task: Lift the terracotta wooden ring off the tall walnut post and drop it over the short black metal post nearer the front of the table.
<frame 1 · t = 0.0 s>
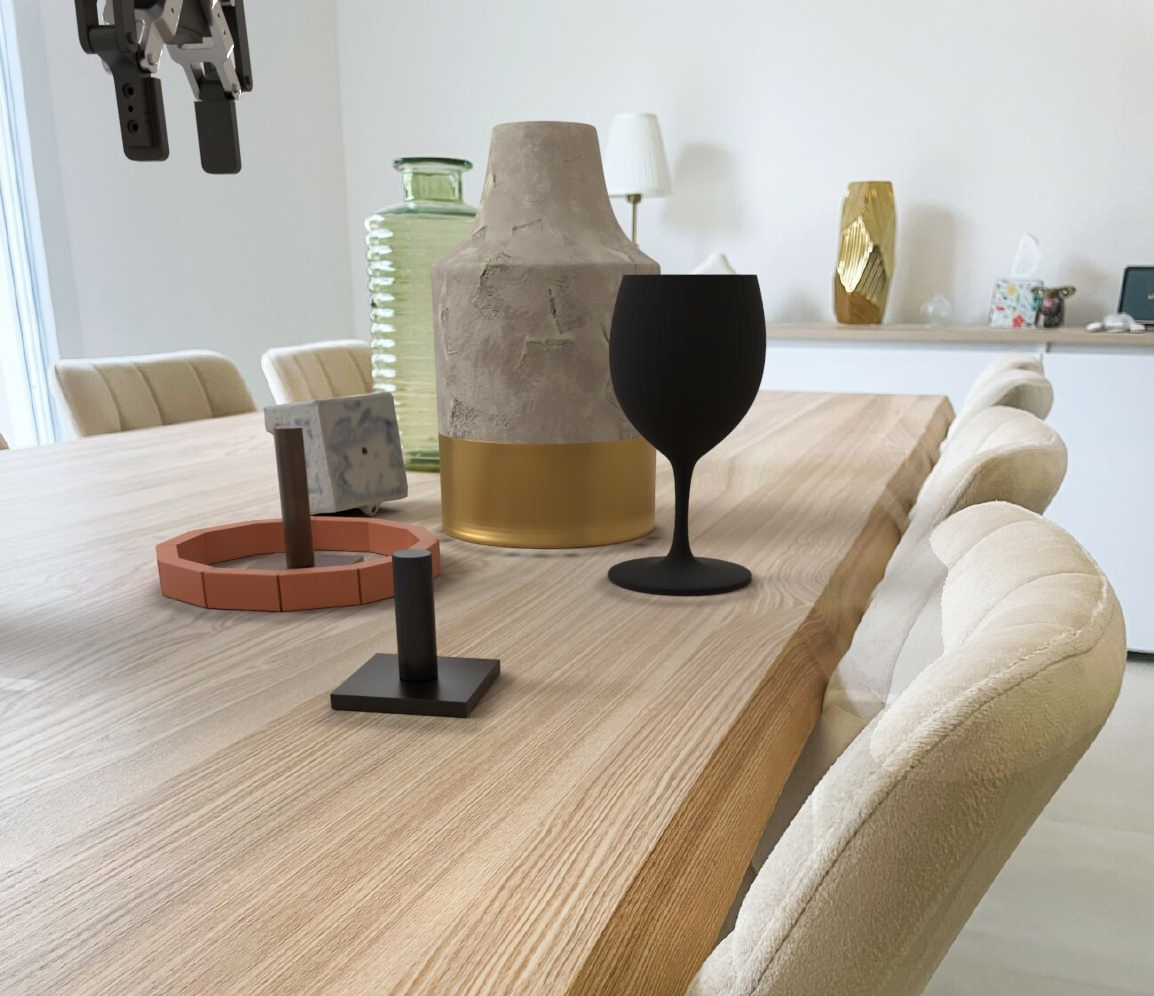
hand: (187, 168, 64), 25 cm above the table, tool pointing down, fingers open, 8 cm apart
walnut post: (302, 575, 83), on the table
wine glass: (679, 580, 83), on the table
ring: (302, 575, 83), on the table
metal post: (419, 690, 60), on the table
vase: (548, 527, 100), on the table
incense holder: (342, 514, 106), on the table
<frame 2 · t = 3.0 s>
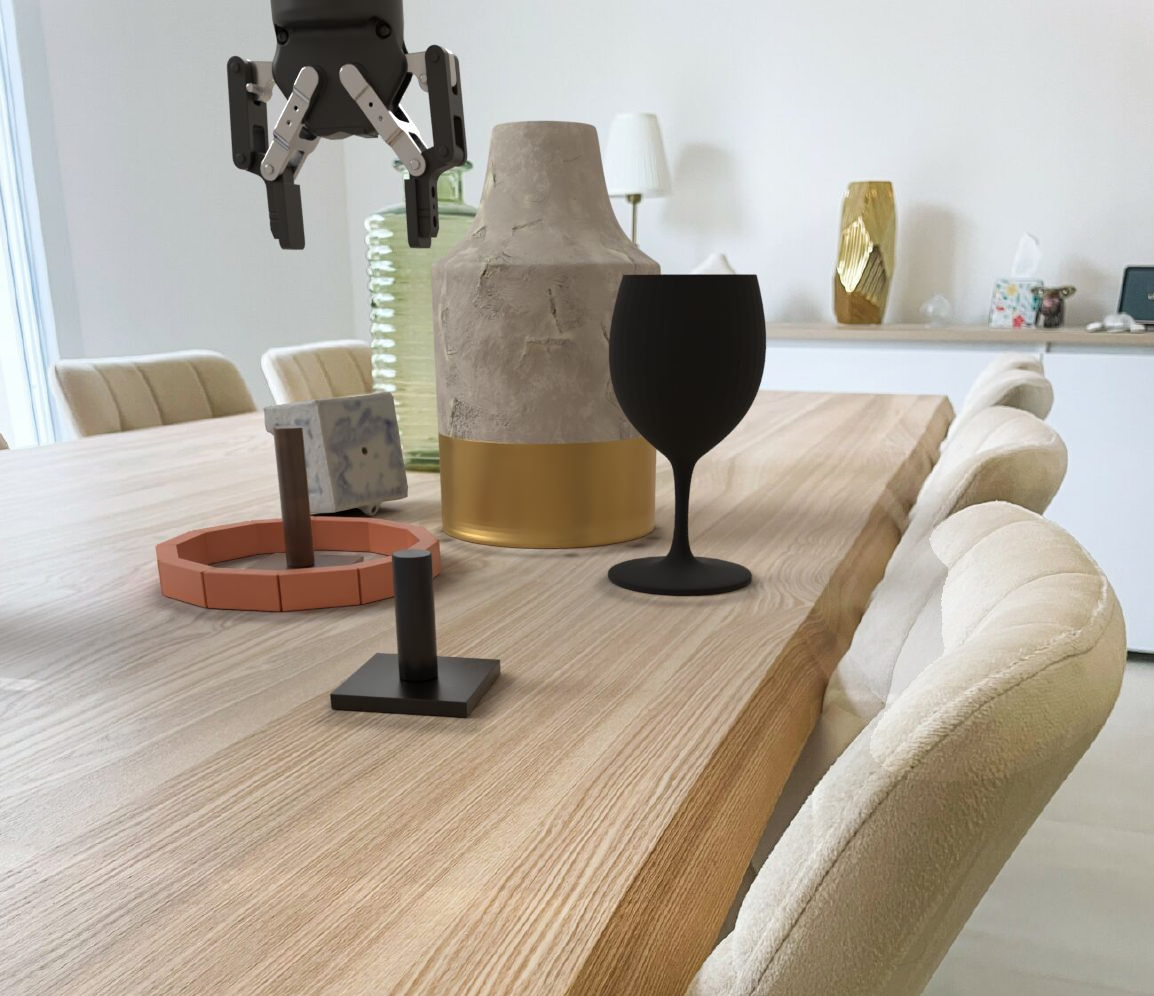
hand: (356, 249, 71), 21 cm above the table, tool pointing down, fingers open, 8 cm apart
nothing on the table moved.
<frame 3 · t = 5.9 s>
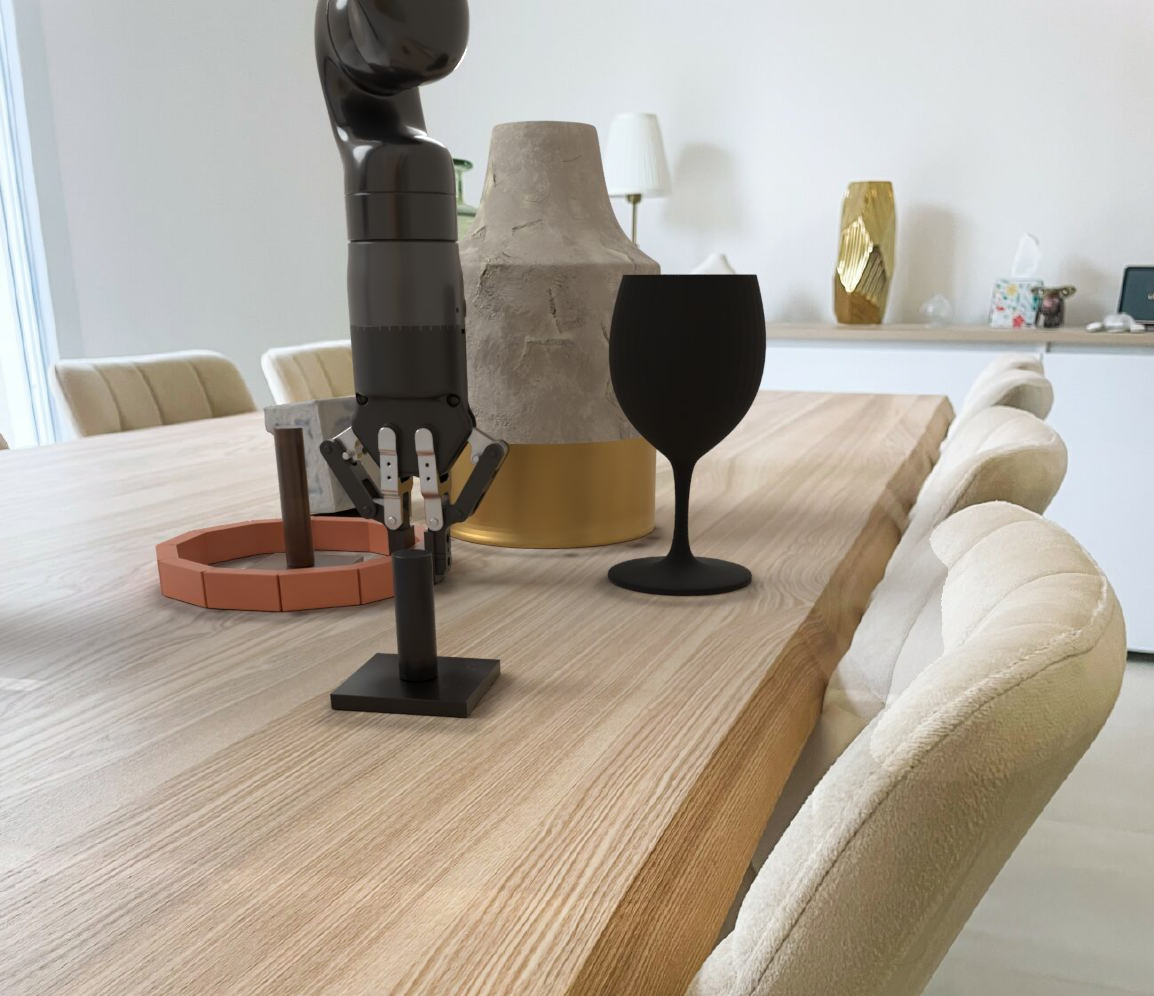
hand: (422, 579, 82), 0 cm above the table, tool pointing down, fingers closed on ring, 1 cm apart
ring: (302, 575, 83), on the table, touching gripper
everything else where it was.
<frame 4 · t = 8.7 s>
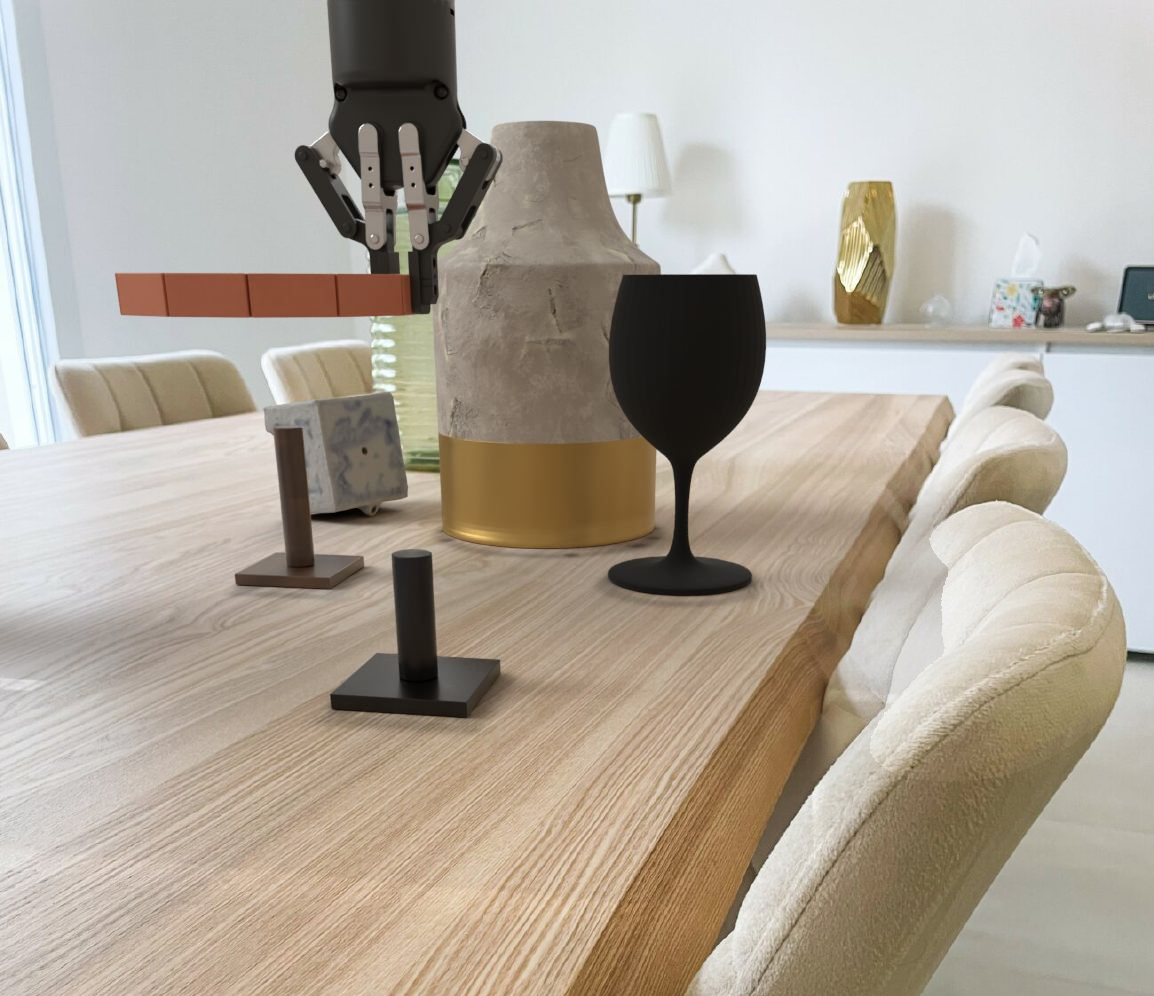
hand: (406, 313, 75), 18 cm above the table, tool pointing down, fingers closed on ring, 1 cm apart
ring: (276, 313, 76), point 18 cm above the table, touching gripper
everything else where it was.
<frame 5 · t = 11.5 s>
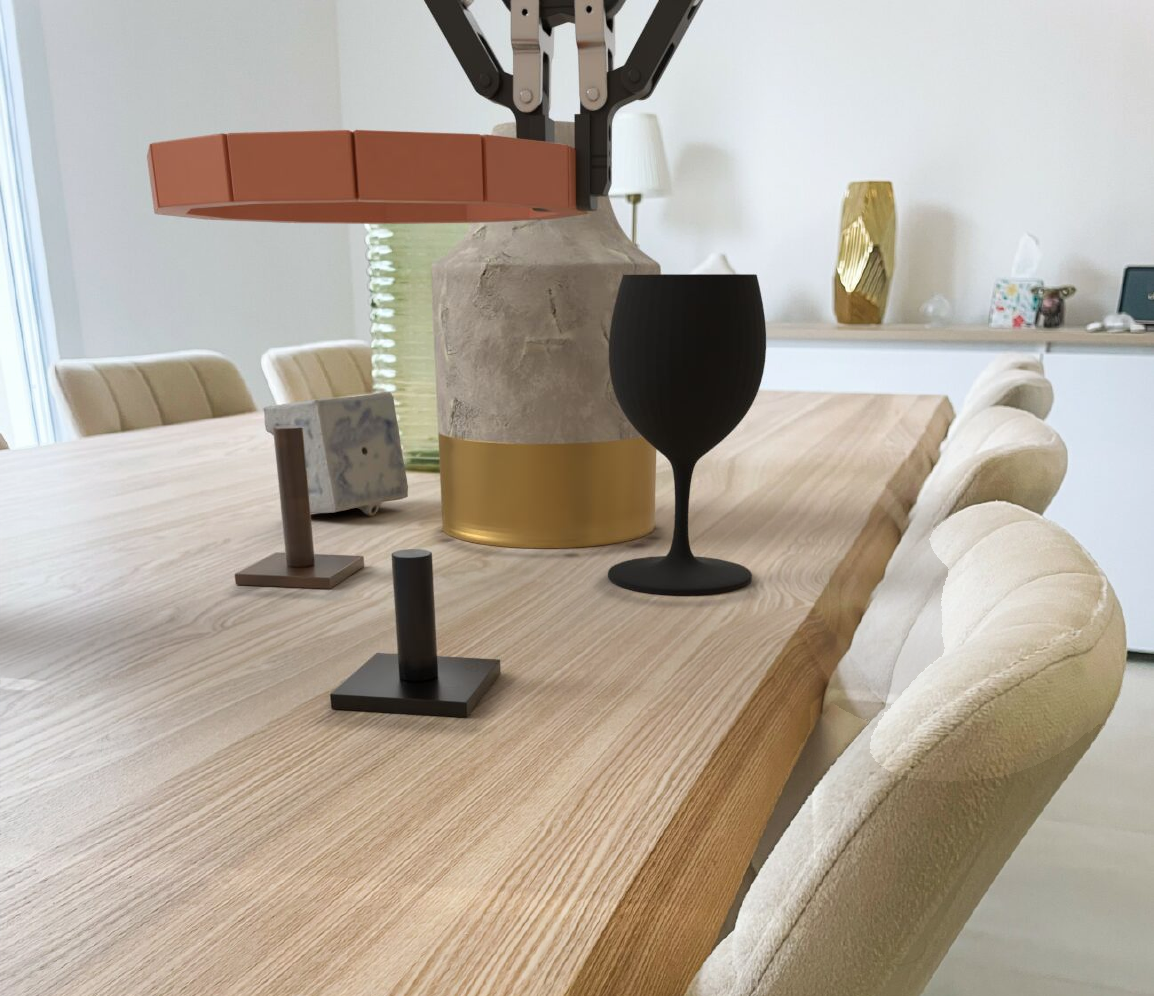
hand: (565, 209, 52), 23 cm above the table, tool pointing down, fingers closed on ring, 1 cm apart
ring: (375, 214, 54), point 23 cm above the table, touching gripper
everything else where it was.
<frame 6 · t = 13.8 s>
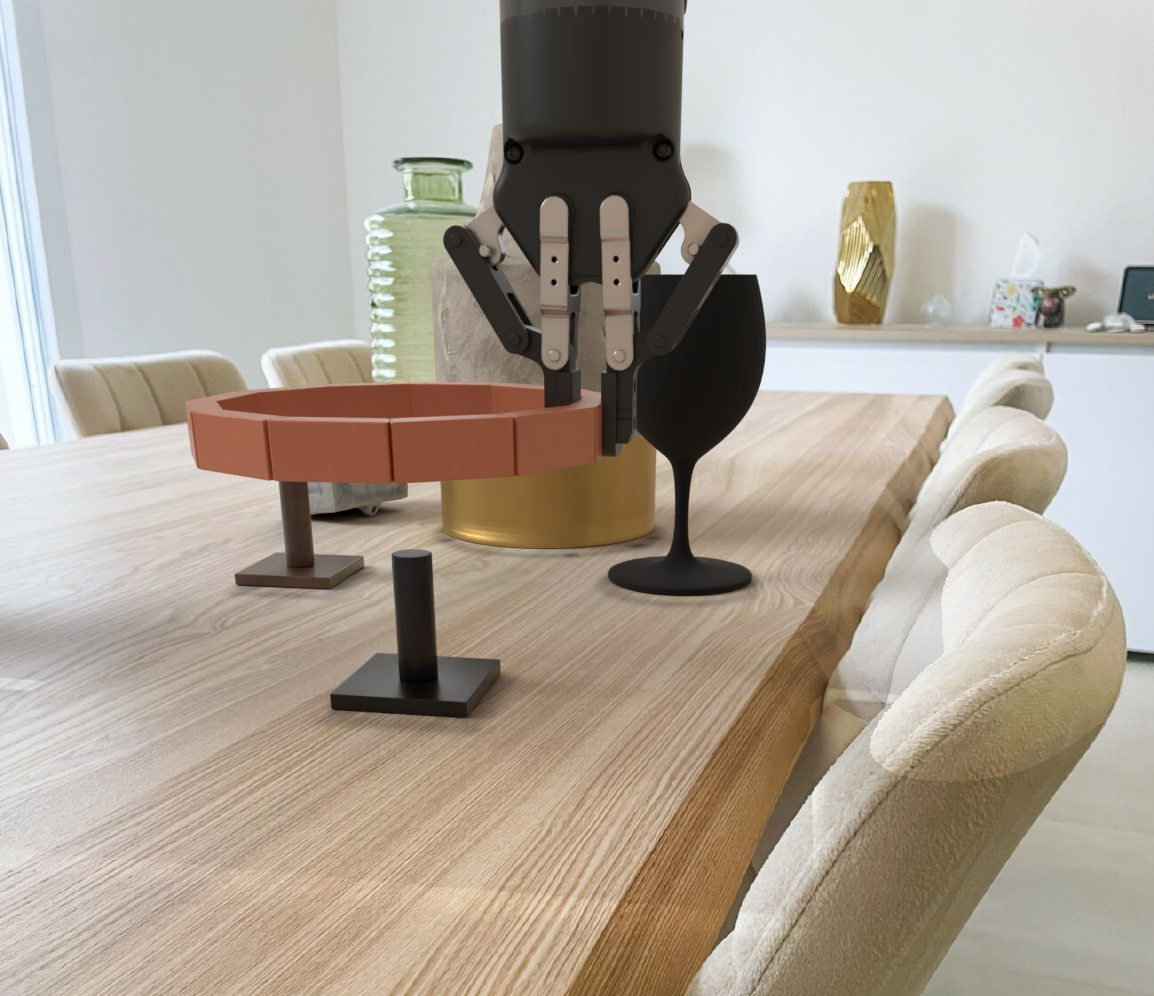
hand: (591, 453, 54), 12 cm above the table, tool pointing down, fingers closed on ring, 1 cm apart
ring: (405, 450, 55), point 12 cm above the table, touching gripper
everything else where it was.
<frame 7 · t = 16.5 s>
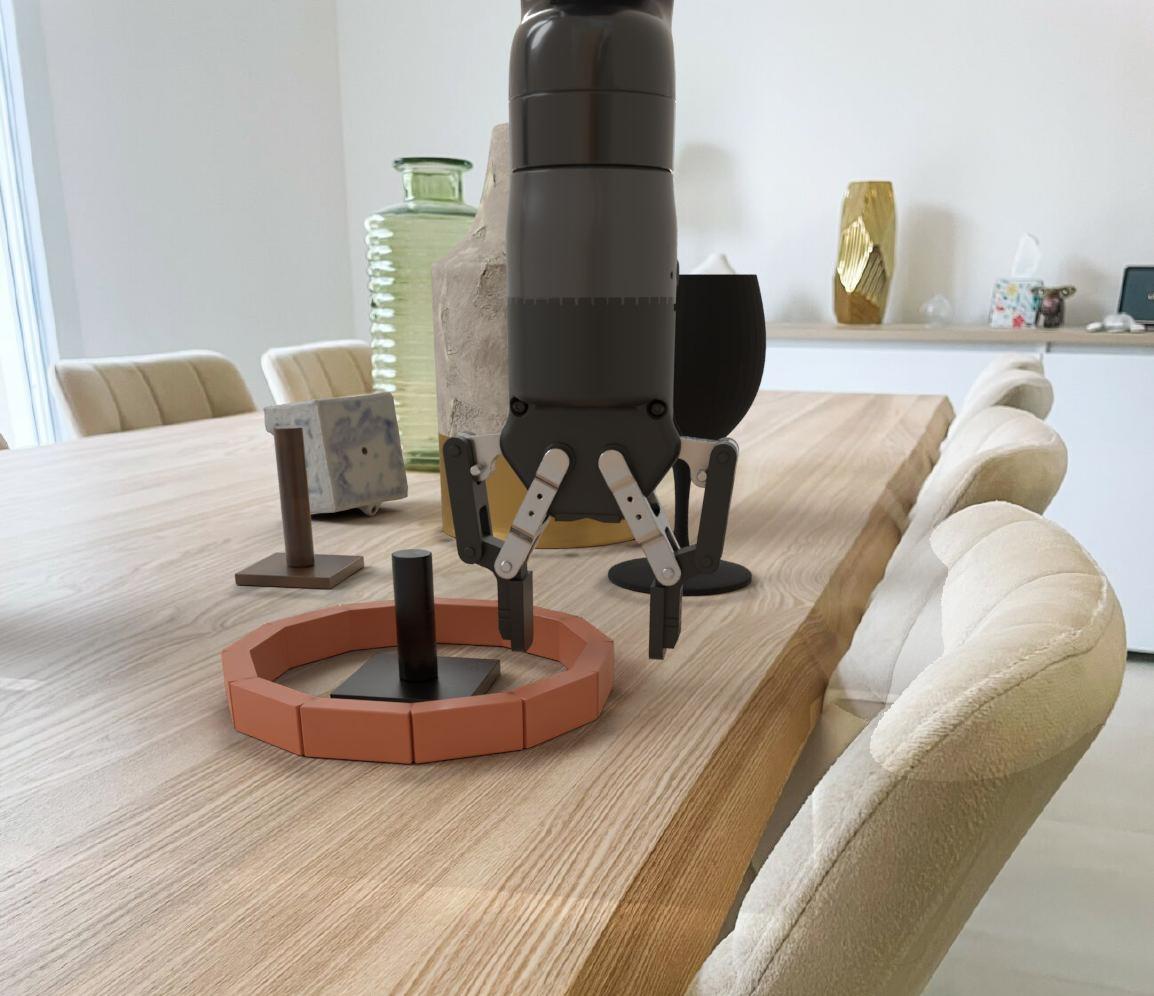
hand: (590, 650, 57), 3 cm above the table, tool pointing down, fingers open, 6 cm apart
ring: (422, 690, 60), on the table
everything else where it was.
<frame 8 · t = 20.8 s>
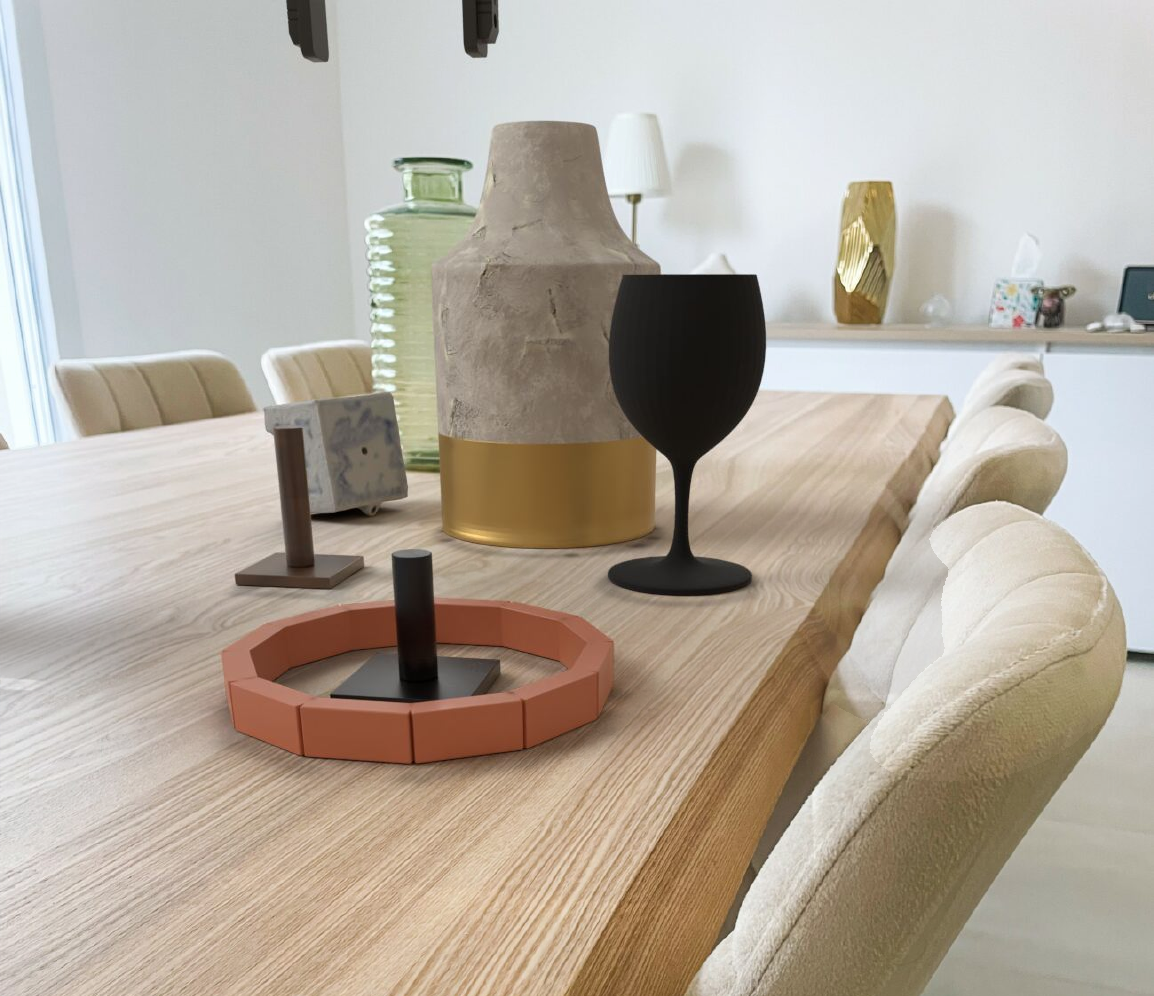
hand: (395, 58, 59), 30 cm above the table, tool pointing down, fingers open, 8 cm apart
nothing on the table moved.
at the end: ring 0.2 cm from the metal post (horizontally); ring on the table; ring tilted 0° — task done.
